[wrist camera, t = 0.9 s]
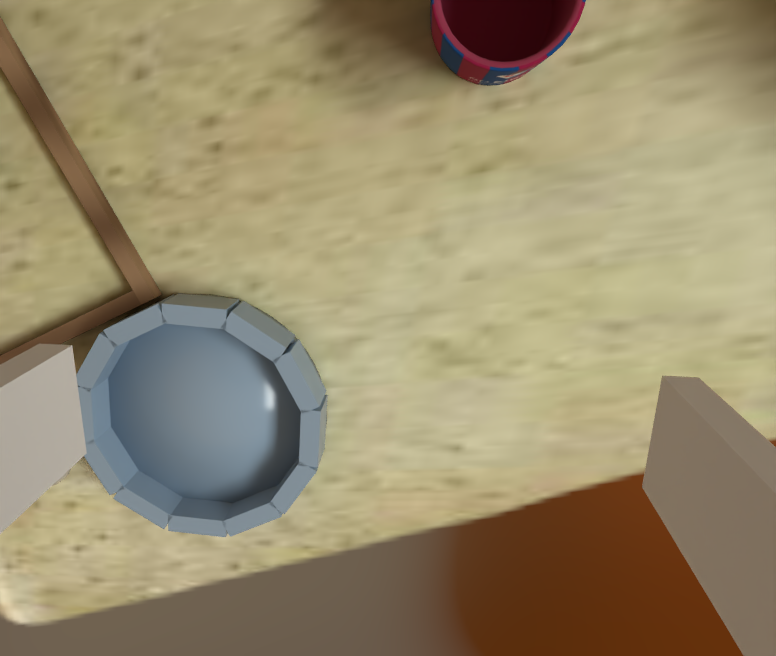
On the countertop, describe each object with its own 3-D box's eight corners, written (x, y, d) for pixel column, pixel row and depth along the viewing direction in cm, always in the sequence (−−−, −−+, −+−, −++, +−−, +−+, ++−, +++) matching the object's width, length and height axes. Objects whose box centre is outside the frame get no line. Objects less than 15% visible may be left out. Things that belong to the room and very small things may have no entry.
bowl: (53, 352, 40) (25, 367, 37) (256, 254, 37) (242, 263, 34) (173, 538, 44) (156, 565, 41) (366, 462, 41) (362, 485, 38)
